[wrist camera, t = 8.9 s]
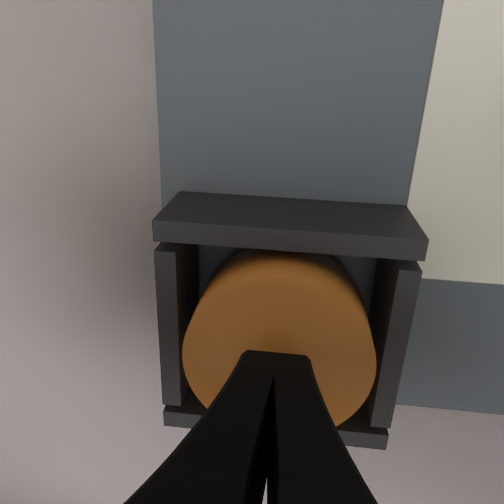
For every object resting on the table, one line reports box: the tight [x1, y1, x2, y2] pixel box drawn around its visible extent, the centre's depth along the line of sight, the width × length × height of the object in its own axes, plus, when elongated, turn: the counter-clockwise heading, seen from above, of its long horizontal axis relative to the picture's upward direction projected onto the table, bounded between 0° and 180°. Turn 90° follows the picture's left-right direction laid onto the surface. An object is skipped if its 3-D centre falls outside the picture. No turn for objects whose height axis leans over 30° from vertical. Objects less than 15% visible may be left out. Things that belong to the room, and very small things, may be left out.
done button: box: [182, 248, 377, 426], centre depth 11 cm, size 4×4×2 cm
